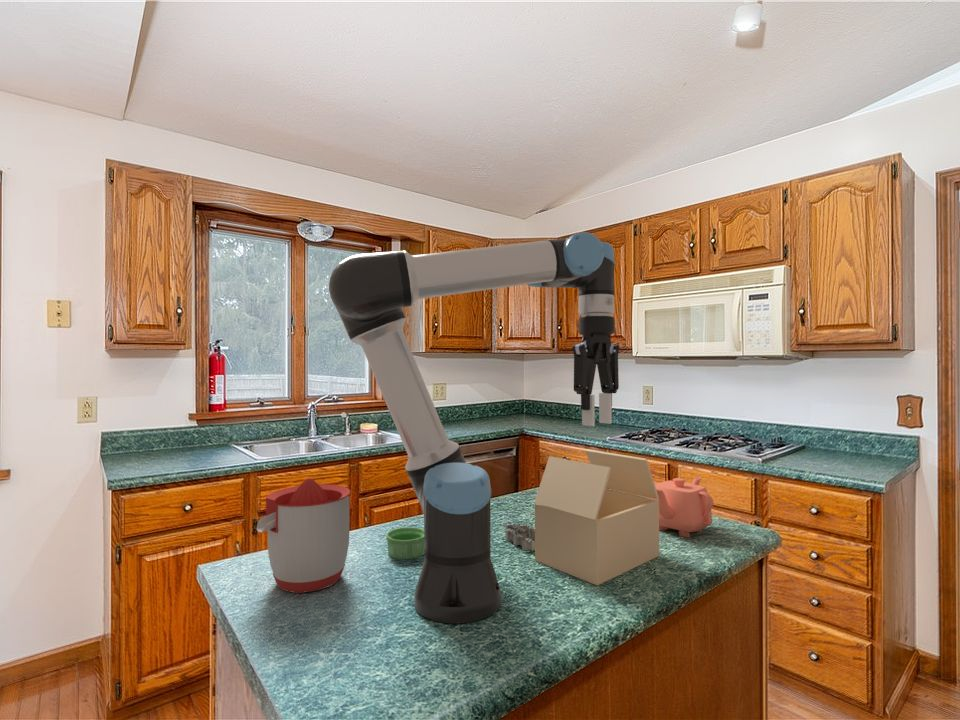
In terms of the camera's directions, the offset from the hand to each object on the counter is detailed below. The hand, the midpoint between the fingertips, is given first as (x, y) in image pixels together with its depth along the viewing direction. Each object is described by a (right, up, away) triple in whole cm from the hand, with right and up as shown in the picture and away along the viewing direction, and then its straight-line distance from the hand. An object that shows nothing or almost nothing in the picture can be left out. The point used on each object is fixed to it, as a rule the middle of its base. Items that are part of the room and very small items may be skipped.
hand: (597, 424), depth 110 cm
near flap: (-6, -12, -6) cm, 15 cm away
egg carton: (-14, -29, +10) cm, 34 cm away
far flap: (+7, -12, +6) cm, 15 cm away
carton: (0, -29, 0) cm, 29 cm away
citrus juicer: (-59, -29, -11) cm, 67 cm away
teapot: (+25, -29, +19) cm, 42 cm away
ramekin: (-41, -29, +4) cm, 51 cm away
